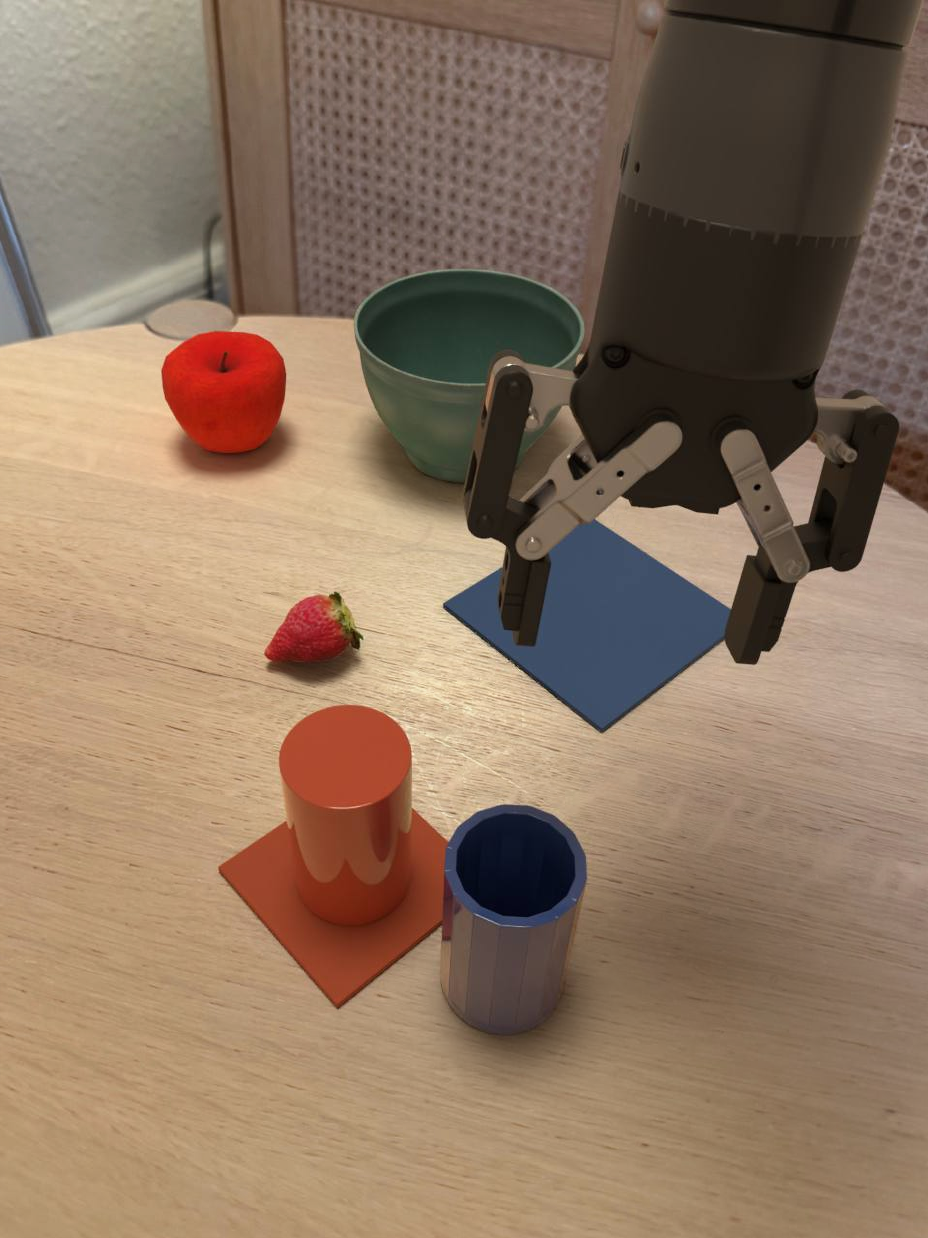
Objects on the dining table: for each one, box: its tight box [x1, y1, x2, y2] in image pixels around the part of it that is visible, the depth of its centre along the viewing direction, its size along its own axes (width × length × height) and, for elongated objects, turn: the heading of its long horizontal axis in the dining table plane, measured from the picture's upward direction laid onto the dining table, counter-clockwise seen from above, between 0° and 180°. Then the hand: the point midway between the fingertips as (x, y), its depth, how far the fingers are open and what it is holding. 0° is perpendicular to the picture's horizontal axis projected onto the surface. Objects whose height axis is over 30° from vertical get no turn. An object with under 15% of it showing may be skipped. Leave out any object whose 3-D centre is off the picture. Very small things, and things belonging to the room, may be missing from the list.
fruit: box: [263, 591, 364, 664], centre depth 66 cm, size 4×6×5 cm
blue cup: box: [439, 803, 588, 1036], centre depth 49 cm, size 6×6×10 cm
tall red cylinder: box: [278, 704, 413, 926], centre depth 52 cm, size 6×6×10 cm
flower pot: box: [353, 268, 585, 484], centre depth 79 cm, size 16×16×11 cm
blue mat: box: [442, 518, 731, 733], centre depth 71 cm, size 14×14×1 cm
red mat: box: [217, 807, 449, 1009], centre depth 56 cm, size 10×10×1 cm
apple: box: [160, 330, 287, 454], centre depth 80 cm, size 9×9×8 cm
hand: (632, 644), depth 41 cm, fingers open, 8 cm apart
